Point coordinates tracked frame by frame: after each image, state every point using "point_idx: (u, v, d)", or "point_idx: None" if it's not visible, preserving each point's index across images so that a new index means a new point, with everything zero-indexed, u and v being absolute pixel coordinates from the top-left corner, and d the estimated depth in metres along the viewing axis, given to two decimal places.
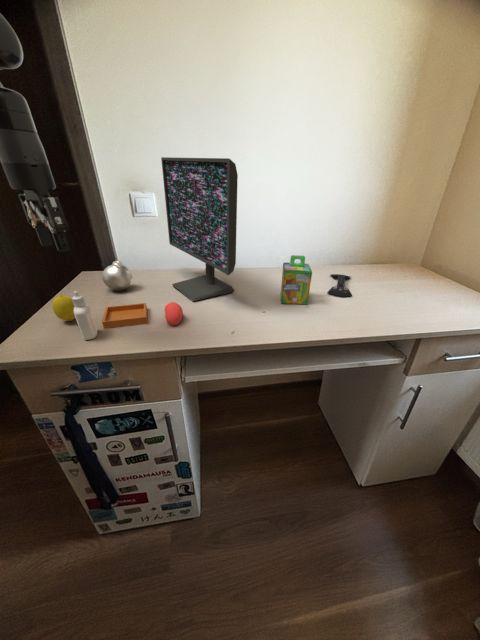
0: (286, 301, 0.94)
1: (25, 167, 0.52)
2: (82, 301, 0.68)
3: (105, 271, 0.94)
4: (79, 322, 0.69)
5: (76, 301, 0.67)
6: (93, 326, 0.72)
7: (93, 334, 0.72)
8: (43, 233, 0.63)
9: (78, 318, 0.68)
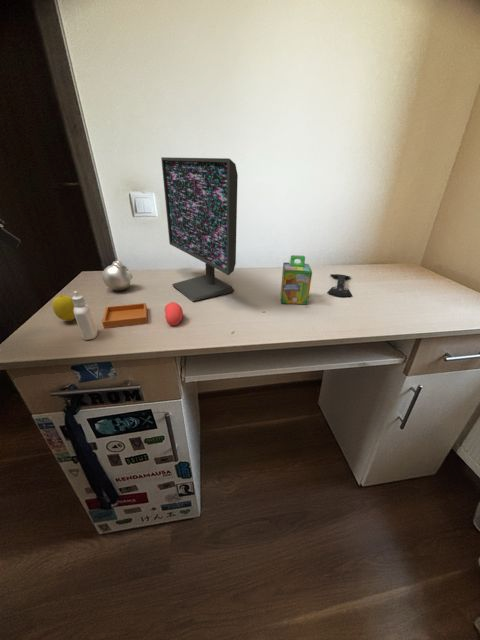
0: (286, 301, 0.94)
1: None
2: (82, 301, 0.68)
3: (105, 271, 0.94)
4: (79, 322, 0.69)
5: (76, 301, 0.67)
6: (93, 326, 0.72)
7: (93, 334, 0.72)
8: None
9: (78, 318, 0.68)
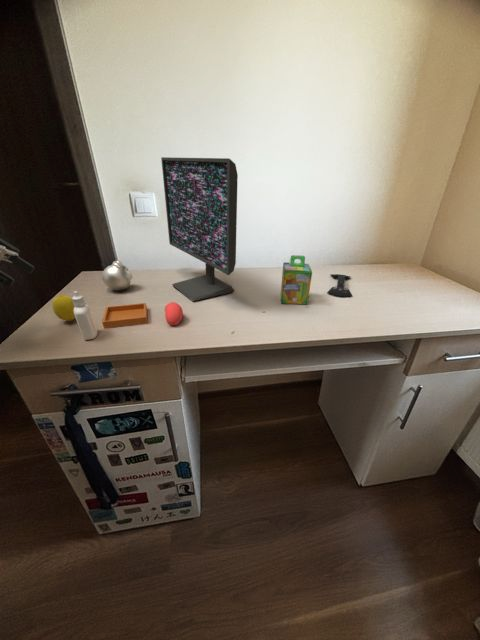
0: (286, 301, 0.94)
1: None
2: (82, 301, 0.68)
3: (105, 271, 0.94)
4: (79, 322, 0.69)
5: (76, 301, 0.67)
6: (93, 326, 0.72)
7: (93, 334, 0.72)
8: None
9: (78, 318, 0.68)
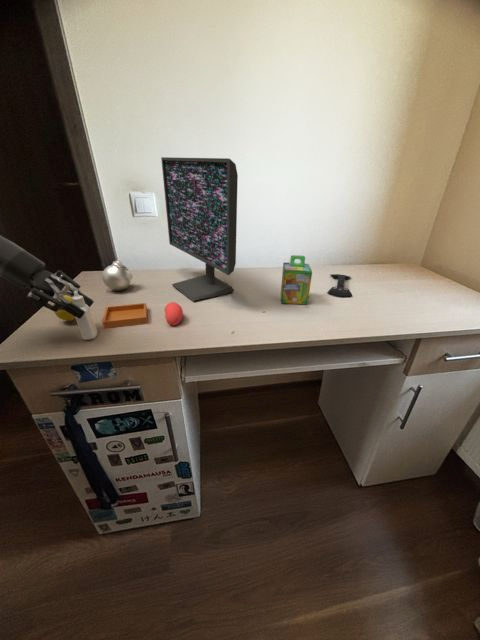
0: (286, 301, 0.94)
1: None
2: (82, 301, 0.68)
3: (105, 271, 0.94)
4: (79, 322, 0.69)
5: (76, 301, 0.67)
6: (93, 326, 0.72)
7: (93, 334, 0.72)
8: None
9: (78, 318, 0.68)
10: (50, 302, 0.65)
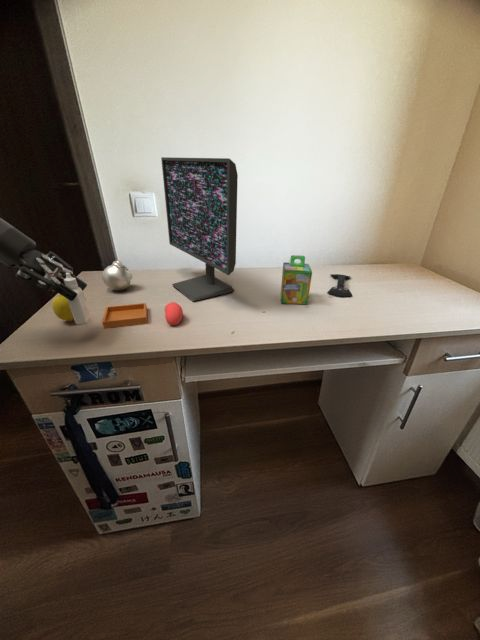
0: (286, 301, 0.94)
1: None
2: (75, 283, 0.66)
3: (105, 271, 0.94)
4: (71, 305, 0.66)
5: (68, 283, 0.65)
6: (86, 310, 0.69)
7: (86, 318, 0.69)
8: None
9: (70, 301, 0.65)
10: (41, 283, 0.62)
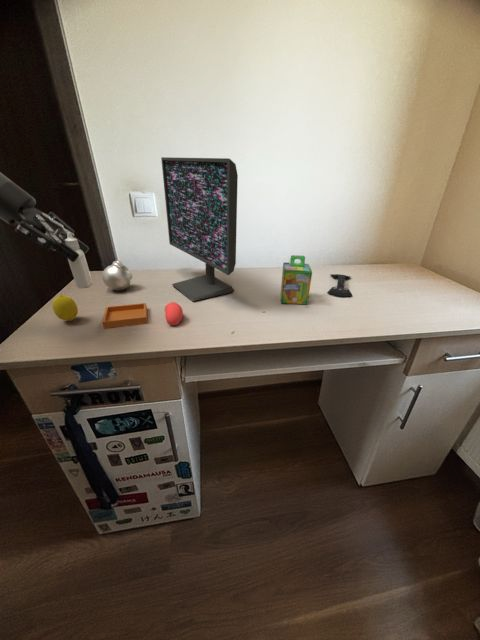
0: (286, 301, 0.94)
1: None
2: (76, 244, 0.63)
3: (105, 271, 0.94)
4: (73, 267, 0.64)
5: (69, 243, 0.63)
6: (88, 274, 0.67)
7: (88, 282, 0.67)
8: None
9: (72, 262, 0.63)
10: (41, 241, 0.60)
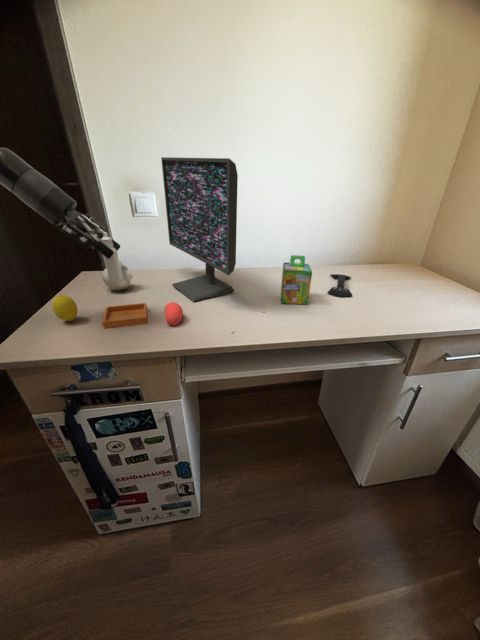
0: (286, 301, 0.94)
1: None
2: (111, 242, 0.70)
3: (105, 271, 0.94)
4: (108, 263, 0.71)
5: (105, 242, 0.69)
6: (120, 269, 0.74)
7: (120, 277, 0.74)
8: None
9: (107, 259, 0.70)
10: (81, 240, 0.67)
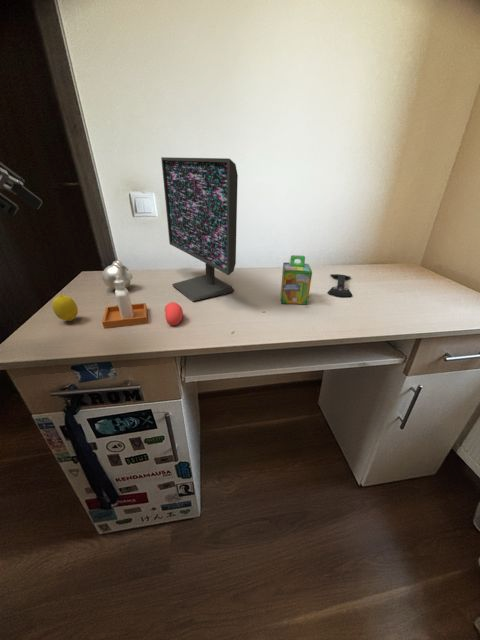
0: (286, 301, 0.94)
1: None
2: (123, 285, 0.77)
3: (105, 271, 0.94)
4: (120, 303, 0.77)
5: (118, 284, 0.76)
6: (131, 308, 0.80)
7: (131, 314, 0.80)
8: None
9: (119, 300, 0.77)
10: None
